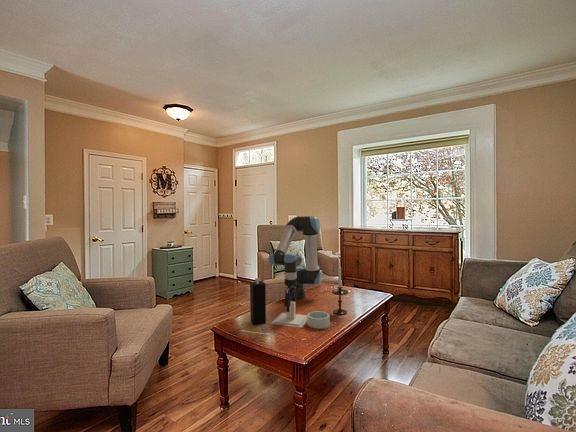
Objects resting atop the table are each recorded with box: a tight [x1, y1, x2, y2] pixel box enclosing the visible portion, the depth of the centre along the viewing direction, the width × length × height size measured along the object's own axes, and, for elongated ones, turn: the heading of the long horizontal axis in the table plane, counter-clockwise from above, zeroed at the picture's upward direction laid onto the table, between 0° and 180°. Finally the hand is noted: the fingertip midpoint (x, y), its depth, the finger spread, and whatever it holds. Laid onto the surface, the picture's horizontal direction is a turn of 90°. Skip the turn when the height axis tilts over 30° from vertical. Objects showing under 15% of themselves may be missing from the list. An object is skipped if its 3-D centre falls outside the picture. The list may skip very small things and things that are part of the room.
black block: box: [249, 277, 267, 326], centre depth 181 cm, size 8×8×28 cm
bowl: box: [306, 310, 331, 330], centre depth 177 cm, size 13×13×6 cm
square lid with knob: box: [274, 302, 308, 326], centre depth 185 cm, size 16×16×11 cm
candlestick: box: [331, 261, 349, 316], centre depth 198 cm, size 11×11×35 cm
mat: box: [269, 312, 307, 328], centre depth 185 cm, size 20×20×1 cm
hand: (291, 314), depth 185 cm, fingers open, 9 cm apart
